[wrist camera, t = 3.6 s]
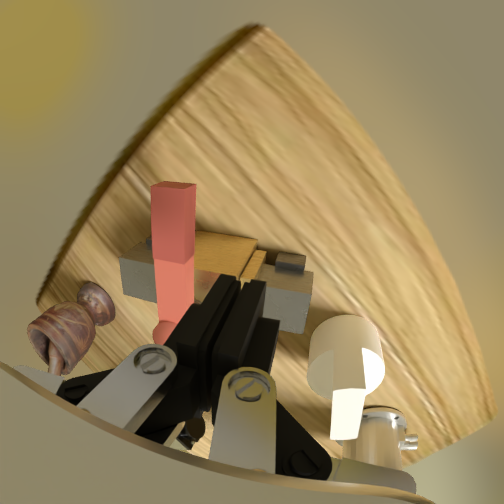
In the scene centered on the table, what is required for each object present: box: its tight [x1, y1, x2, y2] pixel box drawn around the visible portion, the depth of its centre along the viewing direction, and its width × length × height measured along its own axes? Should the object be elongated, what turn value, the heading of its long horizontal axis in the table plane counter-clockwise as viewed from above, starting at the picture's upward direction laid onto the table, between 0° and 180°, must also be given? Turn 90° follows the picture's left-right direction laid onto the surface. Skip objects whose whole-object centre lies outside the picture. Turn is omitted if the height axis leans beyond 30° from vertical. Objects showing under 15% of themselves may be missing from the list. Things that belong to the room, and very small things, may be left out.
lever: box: [151, 181, 196, 345], centre depth 21 cm, size 14×4×2 cm, turn 175°
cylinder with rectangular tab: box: [307, 315, 385, 440], centre depth 30 cm, size 9×9×12 cm
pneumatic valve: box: [170, 416, 205, 450], centre depth 41 cm, size 6×12×12 cm, turn 119°
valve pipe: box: [119, 230, 313, 334], centre depth 30 cm, size 20×8×12 cm, turn 85°
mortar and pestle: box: [27, 282, 115, 376], centre depth 34 cm, size 12×9×20 cm
